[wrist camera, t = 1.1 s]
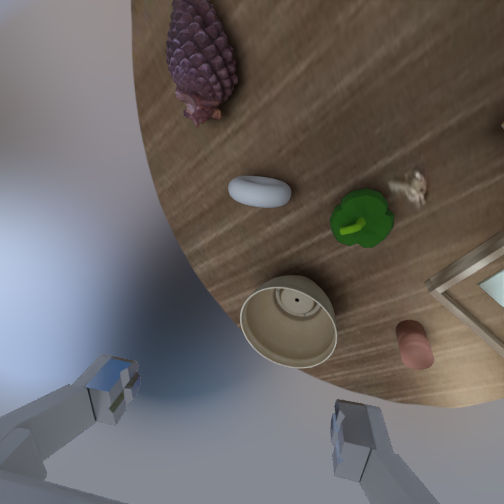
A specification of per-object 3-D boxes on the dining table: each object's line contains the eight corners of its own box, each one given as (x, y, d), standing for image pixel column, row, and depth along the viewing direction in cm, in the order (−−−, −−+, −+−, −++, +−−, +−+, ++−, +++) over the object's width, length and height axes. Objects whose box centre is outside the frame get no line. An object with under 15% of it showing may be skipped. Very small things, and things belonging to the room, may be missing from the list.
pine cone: (181, 0, 40) (134, -36, 32) (242, -16, 37) (208, -61, 29) (196, 129, 47) (161, 128, 39) (249, 125, 44) (223, 123, 35)
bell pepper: (395, 184, 40) (405, 198, 32) (383, 236, 44) (390, 261, 35) (336, 181, 43) (331, 193, 34) (330, 230, 46) (324, 252, 37)
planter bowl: (261, 251, 52) (241, 277, 43) (348, 268, 48) (346, 301, 38) (257, 317, 59) (238, 352, 50) (332, 338, 54) (327, 381, 45)
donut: (298, 180, 45) (285, 191, 36) (295, 200, 46) (281, 215, 38) (243, 170, 47) (217, 179, 39) (241, 190, 49) (216, 202, 40)
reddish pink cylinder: (411, 315, 47) (419, 342, 41) (430, 332, 47) (440, 361, 41) (390, 328, 49) (395, 355, 43) (408, 344, 49) (415, 373, 43)
